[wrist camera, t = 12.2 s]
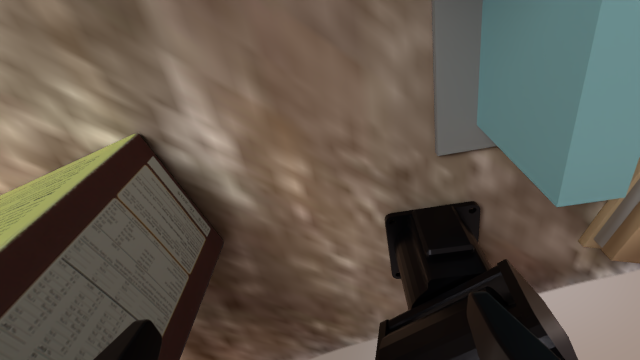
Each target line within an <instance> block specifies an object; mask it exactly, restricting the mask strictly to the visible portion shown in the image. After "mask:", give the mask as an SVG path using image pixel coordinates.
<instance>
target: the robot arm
mask: <svg viewBox="0 0 640 360" xmlns="http://www.w3.org/2000/svg"><path fill="white" fill-rule="evenodd" d="M471 208H473V209H472V210H470V209H471ZM390 220H394V221H390ZM479 221H480V207H479V205H478V204H477V203H476V202H472V201H471V202H464V203H457V204H451V205H444V206H437V207H430V208H424V209H417V210H410V211H404V212H397V213H391V214H388V215H386V217H385V226H386V234H387V241H388V249H389V256H390V263H391V271H392V276H393V277H394V278H396V279H401V280H402V284H403V288H404V292H405V297H406V301H407V305H408V309H409V310H408V311H407V312H405V313H403V314H401V315H399V316H397V317H395V318H393V319H391V320H388V319H387V320H385V321H383V322H381V323H380V327H379V335H378V343H377V351H376V358H375V360H578V358H577V356H576V354H575V352H574V349H573V347H572V344H571V342H570V340H569V337H568V336H567V334H566V333H565V331H564V330H563V328H562V327H561V326H560V324H559V322H558V321H557V320H556V318H555V317H554V315H553V314H552V312H551V311H550V309H549V308H548V307H547V305H546V304H545V302H544V301H543V300H542V298H541V297H540V296H539V295H538V294H537V293H536V292H535V290H534V289H533V288H532V287H531V286H530V285H529V284H528V283H527V282H526V280H525V279H524V278H523V277H522V276H521V275H520V274H519V273H518V271H517V270H516V269H515V268H514V267H513V266H512V265H511V264H510V263H509V261H508V260H507V259H505V260H503V261H501V262H499V263H497V266H495V267H493V268H491V266H490V264H489V262H488V260H487V259H486V257H485V255H484V253H483V251H482V250H481V248H480V246H479V244H478V236H479ZM398 272H399V273H398ZM161 345H162V335H161V333H160V332H159V331H158V329H157V328H156V326H155V325H154V324H153V322H152V321H151V320H149V319H143V320H136V321H134V322H133V323H131V324H130V325H129V326H128V327H127V328H126V329H125V330H124V331H123V332H122V333H121V334H120V335H119V336H118V337H117V338H116V339H115V340H113V341H112V342H111V343H110V344H109V345H108V346H107V347H106V348H105V349H104V350H103V351H102V352H101V353H100V354H99V355H98V356H97V357H95V358H94V359H93V360H158V358H159V354H160V350H161Z"/></svg>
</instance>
